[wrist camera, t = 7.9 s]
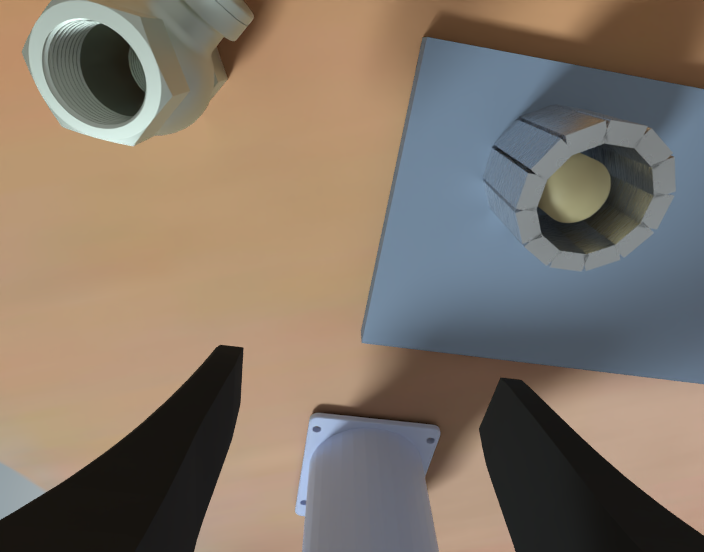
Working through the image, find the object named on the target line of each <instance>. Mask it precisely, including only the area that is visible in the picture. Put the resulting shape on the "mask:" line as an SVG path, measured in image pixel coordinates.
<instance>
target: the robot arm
mask: <svg viewBox="0 0 704 552" xmlns="http://www.w3.org/2000/svg"><path fill="white" fill-rule="evenodd" d="M242 364H243V347H234V346H226V345H219V346H218V347H216V348H215V350H214V351H213V352H212V353H211V355H210V356H209V357H208V358H207V359H206V360H205V361H204V363H203V364H202V365H201V366H200V367H199V368H198V369H197V370H196V371H195V373H194V374H193V375H192V376H191V377H190V378H189V379H188V380H187V381H186V382H185V383H184V384H183V385H182V386H181V387H180V388H179V389H178V390H177V391H176V392H175V393H174V394H173V395H172V396H171V397H170V398H169V399H168V400H167V401H166V402H165V403H164V404H163V405H161V406H160V407H159V408H158V409H157V410H156V411H155V412H154V413H153V414H152V415H150V416H149V417H148V418H147V419H146V420H145V421H144V422H143V423H141V424H140V425H139V426H138V427H137V428H135V429H134V430H133V431H132V432H131V433H129V434H128V435H127V436H126V437H125V438H123V439H122V440H121V441H119V442H118V443H117V444H116V445H114V446H113V447H112V448H110V449H109V450H108V451H106V452H105V453H104V454H102V455H101V456H100V457H98V458H97V459H95V460H94V461H92V462H91V463H90V464H88V465H87V466H85V467H84V468H83V469H81V470H80V471H78V472H77V473H75V474H74V475H73V476H71V477H70V478H68V479H67V480H65V481H64V482H62V483H60V484H59V485H57V486H56V487H54V488H53V489H51V490H49V491H48V492H46V493H44V494H43V495H41V496H40V497H38V498H36V499H34V500H33V501H31V502H30V503H28V504H26V505H25V506H23V507H21V508H20V509H18V510H17V511H15V512H13V513H11V514H10V515H8V516H6V517H5V518H3V519H1V520H0V552H194V549H195V545H196V541H197V538H198V535H199V532H200V528H201V525H202V522H203V519H204V516H205V514H206V511H207V508H208V505H209V502H210V500H211V497H212V494H213V491H214V488H215V486H216V483H217V480H218V477H219V474H220V472H221V469H222V466H223V463H224V460H225V458H226V455H227V452H228V449H229V446H230V443H231V441H232V437H233V433H234V429H235V425H236V420H237V416H238V412H239V407H240V401H241V382H242ZM315 426H319V427H315ZM479 432H480V437H481V442H482V448H483V452H484V457H485V462H486V465H487V469H488V472H489V475H490V478H491V481H492V484H493V487H494V490H495V493H496V496H497V498H498V501H499V504H500V507H501V510H502V513H503V516H504V519H505V522H506V524H507V527H508V530H509V533H510V536H511V539H512V542H513V545H514V548H515V551H516V552H704V535H702V534H701V533H699V532H698V531H696V530H695V529H694V528H692V527H691V526H689V525H688V524H686V523H685V522H683V521H682V520H681V519H679V518H678V517H676V516H675V515H674V514H672V513H671V512H670V511H668V510H667V509H666V508H664V507H663V506H662V505H660V504H659V503H658V502H656V501H655V500H654V499H653V498H651V497H650V496H649V495H648V494H646V493H645V492H644V491H642V490H641V489H640V488H639V487H637V486H636V485H635V484H634V483H632V482H631V481H630V480H629V479H627V478H626V477H625V476H624V475H623V474H621V473H620V472H619V471H618V470H617V469H616V468H615V467H613V466H612V465H611V464H610V463H609V462H608V461H607V460H605V459H604V458H603V457H602V456H601V455H600V454H599V453H598V452H596V451H595V450H594V449H593V448H592V447H591V446H590V445H589V444H588V443H587V442H586V441H585V440H583V439H582V438H581V437H580V436H579V435H578V434H577V433H576V432H575V431H574V430H573V429H572V428H571V427H570V426H569V425H568V424H567V423H566V422H565V421H564V420H563V419H562V418H561V417H560V416H559V415H558V414H557V413H555V412H554V411H553V410H552V409H551V408H550V407H549V406H548V405H547V404H546V403H545V402H544V401H543V400H542V399H541V398H540V397H539V396H538V395H537V394H536V393H535V392H534V391H533V390H532V389H531V388H530V387H529V386H528V385H526V384H525V383H524V382H523V381H522V380H517V379H508V378H500V380H499V383H498V385H497V387H496V390H495V392H494V395H493V397H492V399H491V402H490V404H489V406H488V409H487V411H486V414H485V416H484V418H483V421H482V423H481V425H480V428H479ZM439 437H440V429H439V427H438V426H436V425H431V424H421V423H412V422H402V421H393V420H383V419H374V418H364V417H355V416H345V415H335V414H326V413H314V414H312V415H311V416H310V420H309V426H308V432H307V438H306V445H305V451H304V457H303V463H302V470H301V476H300V482H299V488H298V495H297V501H296V508H295V512H296V513H297V514H298V515H300V516H305V523H304V535H303V548H302V552H439V549H438V544H437V539H436V533H435V528H434V523H433V517H432V512H431V507H430V501H429V496H428V491H427V485H426V480H425V476H426V473H427V470H428V468H429V465H430V462H431V459H432V457H433V454H434V451H435V448H436V446H437V443H438V440H439ZM428 438H430V439H428Z"/></svg>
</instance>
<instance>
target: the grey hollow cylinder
mask: <svg viewBox="0 0 704 552" xmlns="http://www.w3.org/2000/svg"><path fill="white" fill-rule="evenodd" d="M520 120H521V121H520ZM520 120H517V119H516V120H515V121H514V122H513V124H512V125H511V126H510V127H509V128H508V129H507V130H506V131H505V132H504V133H503V134H502V135H501V137H500V138H499V139H498V140H497V141H496V142H495V143H494V145H495V146H496V147H497V148H498V149H497V148H491V151H490V154H489V158H488V161H487V164H486V168H485V171H484V174H483V178H484V179H485V180H483V185H484V189H485V193H486V197H487V201H488V205H489V207H490V208H491V210H492V211H493V212H494V214H495V215H496V216H497V217H498V218H499V219H500V220H501V221H502V223H503V224H504V225H505V226H506V227H507V228H508V229H509V230H510V232H511V233H512V234H513V235H514V236H515V237H516V238H517V239H518V241H519V242H520V243H521V244H522V245H523V246H524V247H525V248H526V249H527V250H528V251H530V252H531V253H532V254H533V255H534V256H535V257H537V258H538V259H539V260H540V261H541V262H542V263H543V264H545V265H546V266H547V265H548V266H549V267H550V268H558V269H565V270H573V271H580V272H582V270H583V269H584V270H585V271H588V270H591V269H594V268H597V267H600V266H603V265H606V264H610V263H613V262H616V261H619V260H620V255H621V256H622V257H624V258H625V257H626V256H627V255H628V254H629V253H631V252H632V251H633V250H634V249H635V248H637V247H638V246H639V245H640V244H641V243H643V242H644V241H645V240H646V239H647V238H649V237H650V236H651V235H652V234H653V233H654V232H653V231H652V230H651V229H658V227H659V225H660V223H661V221H662V219H663V217H664V215H665V213H666V211H667V209H668V207H669V205H670V204H671V202H672V200H673V198H674V195H672V194H670V193H673V192H675V191H676V185H675V157H674V156H671V155H672V154H673V152H672V151H671V150H670V149H669V148H668V146H667V145H666V144H665V143H664V142H663V141H662V140H661V138H660V137H659V136H658V135H657V134H656V133H655V132H654V130H653V129H652V128H649V127H648V126H645V125H642V124H638V123H634V122H631V121H627V120H623V119H619V118H616V117H612V116H608V115H605V114H601V113H597V112H594V111H590V110H586V109H581V108H575V107H569V106H563V105H557V104H555V106H554V105H549V106H546V107H544V108H541V109H539V110H536V111H534V112H531V113H528V114H526V115H523V116H521V117H520ZM588 149H591V150H592V158H593V159H595V160H597V161H599V162H600V163H602V164H603V165H604V166H605V167H606V168H607V170H608V172H609V174H610V179H611V186H610V191H609V194H608V197H607V199H606V201H605V202H604V204H603V205H602V206H601V208H600V209H599V210H598V211H597V212H595V213H594V214H593V215H591V216H590V217H588V218H586V219H584V220H582V221H579V222H574V223H562V222H559V221H556V220H554V219H553V218H551V217H550V216H549V215H548V214H545V215H542V216H541V215H538V214H537V206H538V204H539V201H540V198H541V195H542V193H543V190H544V187H545V185H546V182H547V180H548V179H549V178H550V177H551V176H552V175H553V174H554V173H555V172H556V171H557V170H558V169H559V168H560V167H561V166H562V165H563V164H564V163H565V162H566V161H567V160H568V159H569V158H570V157H571V156H572V155H574V154H577V153H580V152H583V151H585V150H588ZM650 228H651V229H650Z"/></svg>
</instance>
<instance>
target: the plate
mask: <svg viewBox="0 0 704 552" xmlns="http://www.w3.org/2000/svg"><path fill="white" fill-rule="evenodd" d="M555 104H557V105H563V106H569V107H575V108H581V109H586V110H590V111H594V112H597V113H601V114H605V115H608V116H612V117H616V118H619V119H623V120H627V121H631V122H634V123H638V124H642V125H645V126H648V127H649V128H652V129H653V130H654V132H655V133H656V134H657V135H658V136H659V137H660V138H661V140H662V141H663V142H664V143H665V144H666V145H667V146H668V148H669V149H670V150H671V151H672V152H673V154H672V155H671V156H674V157H675V185H676V191H675V192H673V193H670V194H672V195H674V198H673V200H672V202H671V204H670V205H669V207H668V209H667V211H666V213H665V215H664V217H663V219H662V221H661V223H660V225H659V227H658V229H651V228H650V229H651V230H652V231H653V232H654V233H653V234H652V235H651V236H650V237H649V238H647V239H646V240H645V241H644V242H643V243H641V244H640V245H639V246H638V247H637V248H635V249H634V250H633V251H632V252H631V253H629V254H628V255H627V256H626V257H625V258H624V257H622V256H621V255H620V260H619V261H616V262H613V263H610V264H606V265H603V266H600V267H597V268H594V269H591V270H588V271H585V270H584V269H583V270H582V272H580V271H573V270H565V269H558V268H550V267H549V266H548V265H547V266H546V265H545V264H543V263H542V262H541V261H540V260H539V259H538V258H537V257H535V256H534V255H533V254H532V253H531V252H530V251H528V250H527V249H526V248H525V247H524V246H523V245H522V244H521V243H520V242H519V241H518V239H517V238H516V237H515V236H514V235H513V234H512V233H511V232H510V230H509V229H508V228H507V227H506V226H505V225H504V224H503V223H502V221H501V220H500V219H499V218H498V217H497V216H496V215H495V214H494V212H493V211H492V210H491V208H490V207H489V205H488V201H487V197H486V193H485V189H484V185H483V180H485V179H484V178H483V174H484V171H485V168H486V164H487V161H488V158H489V154H490V151H491V148H497V147H496V146H495V145H494V143H495V142H496V141H497V140H498V139H499V138H500V137H501V135H502V134H503V133H504V132H505V131H506V130H507V129H508V128H509V127H510V126H511V125H512V124H513V122H514V121H515V120H516V119H517V120H520V117H521V116H523V115H526V114H528V113H531V112H534V111H536V110H539V109H541V108H544V107H546V106H549V105H554V106H555ZM520 121H521V120H520ZM497 149H498V148H497ZM610 186H611V179H610V174H609V172H608V170H607V168H606V167H605V166H604V165H603V164H602V163H600V162H599V161H597V160H595V159H593V158H592V150H591V149H588V150H585V151H583V152H580V153H577V154H574V155H572V156H571V157H570V158H569V159H568V160H567V161H566V162H565V163H564V164H563V165H562V166H561V167H560V168H559V169H558V170H557V171H556V172H555V173H554V174H553V175H552V176H551V177H550V178H549V179H548V180H547V182H546V185H545V187H544V190H543V193H542V195H541V198H540V201H539V204H538V206H537V214H538V215H541V216H542V215H545V214H548V215H549V216H550V217H551V218H553V219H554V220H556V221H559V222H562V223H574V222H579V221H582V220H584V219H586V218H588V217H590V216H591V215H593V214H594V213H595V212H597V211H598V210H599V209H600V208H601V206H602V205H603V204H604V202H605V201H606V199H607V197H608V194H609V191H610ZM361 339H362V343H367V344H375V345H384V346H392V347H400V348H409V349H417V350H425V351H433V352H442V353H450V354H458V355H467V356H475V357H483V358H491V359H500V360H508V361H516V362H525V363H533V364H541V365H550V366H558V367H566V368H574V369H583V370H591V371H599V372H608V373H616V374H624V375H632V376H641V377H649V378H657V379H666V380H674V381H682V382H690V383H699V384H704V89H700V88H695V87H690V86H684V85H679V84H674V83H668V82H663V81H658V80H652V79H647V78H642V77H637V76H631V75H626V74H621V73H615V72H610V71H605V70H600V69H594V68H589V67H584V66H578V65H573V64H568V63H562V62H557V61H552V60H547V59H541V58H536V57H531V56H525V55H520V54H515V53H510V52H504V51H499V50H494V49H488V48H483V47H478V46H472V45H467V44H462V43H457V42H451V41H446V40H441V39H435V38H430V37H423V38H422V43H421V48H420V53H419V57H418V62H417V67H416V72H415V76H414V81H413V86H412V91H411V96H410V100H409V105H408V110H407V115H406V119H405V124H404V129H403V134H402V138H401V143H400V148H399V153H398V158H397V162H396V167H395V172H394V177H393V181H392V186H391V191H390V196H389V200H388V205H387V210H386V215H385V220H384V224H383V229H382V234H381V239H380V243H379V248H378V253H377V258H376V262H375V267H374V272H373V277H372V282H371V286H370V291H369V296H368V301H367V305H366V310H365V315H364V320H363V324H362V329H361Z"/></svg>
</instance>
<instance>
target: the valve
mask: <svg viewBox="0 0 704 552" xmlns="http://www.w3.org/2000/svg"><path fill="white" fill-rule="evenodd" d="M253 19H254V15H253V13H252V11H251V10H250V8H249V7H248V6H247V4H246V3H245V2H244V1H243V0H51V2H50V3H49V4H48V6H47V7H46V8H45V10H44V11H43V13H42V14H41V16H40V17H39V19H38V20H37V22H36V23H35V25H34V27H33V29H32V31H31V33H30V34H29V36H28V38H27V41H26V43H25V45H24V48H23V50H22V54H23V57H24V59H25V62H26V64H27V66H28V69H29V71H30V73H31V75H32V77H33V79H34V81H35V83H36V85H37V88H38V90H39V92H40V93H41V95H42V97H43V98H44V100H45V102H46V103H47V105H48V107H49V108H50V110H51V111H52V113H53V114H54V116H55V117H56V119H57V120H58V121H59V123H60V124H61V126H62V127H64V128H67V129H69V130H72V131H75V132H78V133H81V134H85V135H88V136H91V137H95V138H99V139H103V140H107V141H111V142H115V143H120V144H124V145H129V146H135V145H137V144H139V143H141V142H143V141H145V140H147V139H149V138H151V137H153V136H162V135H167V134H172V133H176V132H178V131H181V130H183V129H185V128H187V127H188V126H190V125H191V124H193V123H194V122H195V121H196V120H197V119H198V118H199V117H200V116H201V115H202V114H203V112H204V111H205V109H206V108H207V106H208V104H209V102H210V100H211V99H212V98H213V97H214V95H215V94H216V93H217V92H218V91H219V89H220V88H221V87H222V86H223V85H224V83H225V82H226V81H227V80H228V78H227V75H226V72H225V69H224V66H223V64H222V61H221V58H220V55H219V52H218V49H217V45H218V44H219V43H220V41H221V40H222V39H223V38H224V37H225V38H227V39H228V40H231V41H236V40H237V39H238V38H239V36H240V35H241V34H242V32H243V31H244V30H245V29H246V28H247V26H248V25H249V24H250V23H251V21H252V20H253Z"/></svg>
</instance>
